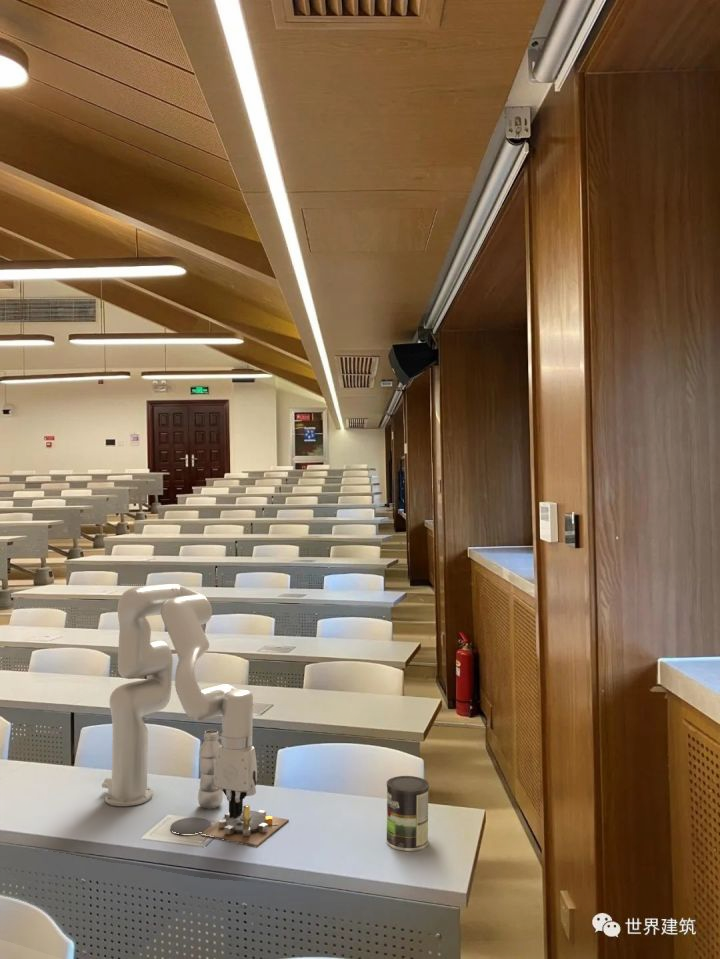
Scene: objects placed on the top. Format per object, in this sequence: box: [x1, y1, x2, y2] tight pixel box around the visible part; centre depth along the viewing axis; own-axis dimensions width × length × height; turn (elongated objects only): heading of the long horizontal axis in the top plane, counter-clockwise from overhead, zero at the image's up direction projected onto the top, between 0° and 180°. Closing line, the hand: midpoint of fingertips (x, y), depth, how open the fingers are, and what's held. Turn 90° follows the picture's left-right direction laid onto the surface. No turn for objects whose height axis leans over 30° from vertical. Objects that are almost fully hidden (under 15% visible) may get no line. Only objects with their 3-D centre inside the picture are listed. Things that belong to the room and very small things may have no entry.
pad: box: [170, 816, 212, 834], centre depth 186 cm, size 10×10×1 cm
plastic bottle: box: [197, 729, 224, 810], centre depth 200 cm, size 6×7×20 cm
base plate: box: [200, 814, 290, 848], centre depth 186 cm, size 16×16×1 cm
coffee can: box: [385, 775, 430, 852], centre depth 179 cm, size 10×10×14 cm
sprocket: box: [218, 804, 273, 836], centre depth 186 cm, size 13×13×6 cm
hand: (235, 816), depth 183 cm, fingers closed
